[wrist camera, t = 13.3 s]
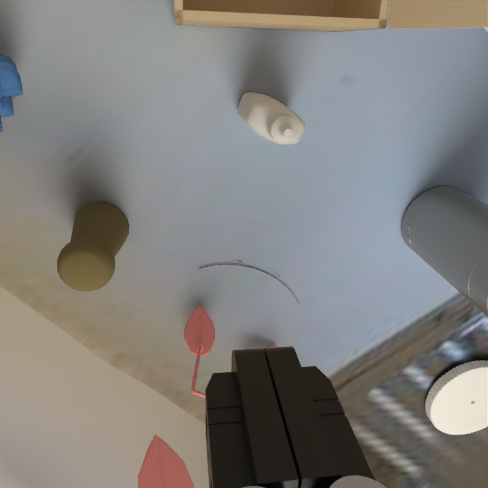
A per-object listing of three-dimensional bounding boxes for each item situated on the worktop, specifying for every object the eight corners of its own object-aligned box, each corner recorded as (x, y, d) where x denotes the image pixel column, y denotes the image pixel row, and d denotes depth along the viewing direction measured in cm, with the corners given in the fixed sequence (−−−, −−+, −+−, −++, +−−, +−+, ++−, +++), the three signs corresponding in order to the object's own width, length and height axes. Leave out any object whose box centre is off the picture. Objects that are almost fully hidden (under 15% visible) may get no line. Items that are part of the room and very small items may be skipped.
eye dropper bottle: (264, 76, 45) (290, 87, 34) (293, 120, 47) (327, 143, 36) (231, 103, 46) (247, 122, 35) (261, 145, 48) (285, 175, 37)
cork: (90, 192, 47) (67, 231, 38) (139, 219, 50) (129, 264, 40) (64, 234, 49) (36, 283, 39) (112, 259, 51) (97, 311, 41)
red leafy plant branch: (277, 396, 64) (379, 732, 32) (129, 312, 55) (68, 670, 23) (349, 324, 61) (541, 621, 29) (203, 221, 51) (252, 495, 20)
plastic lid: (521, 366, 69) (533, 377, 67) (473, 428, 74) (482, 440, 72) (452, 347, 65) (462, 358, 63) (406, 414, 70) (413, 426, 68)
